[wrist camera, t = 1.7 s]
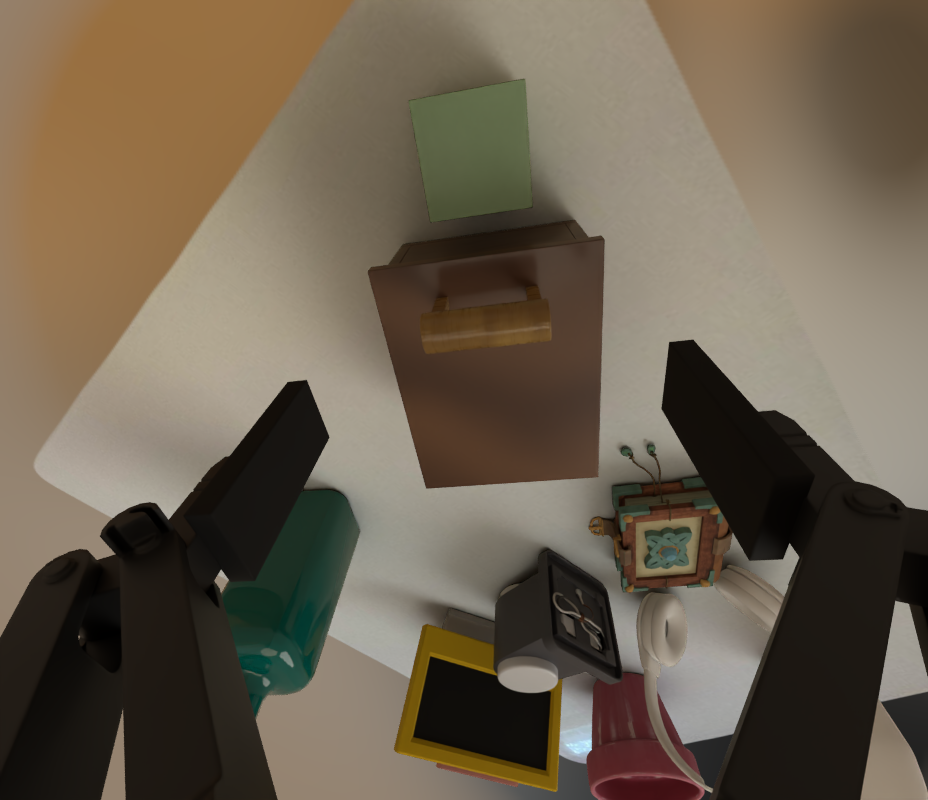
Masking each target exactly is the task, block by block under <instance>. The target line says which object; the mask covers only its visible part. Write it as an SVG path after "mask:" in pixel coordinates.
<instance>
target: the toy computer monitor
mask: <svg viewBox="0 0 928 800" xmlns="http://www.w3.org/2000/svg"><path fill="white" fill-rule="evenodd" d="M494 631H495V622H492V621H489V620H486V619H483V618H480V617H476V616H473V615H470V614H467V613H464V612H461V611H458V610H455V609H452V608H450V609H449V611H448V614H447V616H446V619H445V622H444V624H443V627H442V628H439V627H436V626H432V625H429V624H426V625H423V627H422V631H421V635H420V640H419V644H418V648H417V653H416V657H415V661H414V665H413V670H412V674H411V678H410V683H409V687H408V692H407V695H406V700H405V704H404V708H403V713H402V717H401V722H400V726H399V730H398V734H397V738H396V743H395V747H394V750H395V752H397V753H399V754H404V755H408V756H412V757H416V758H420V759H424V760H428V761H433V762H437V767H438V768H441V769H445V770H449V771H453V772H457V773H461V774H465V775H470V776H474V777H478V778H482V779H486V780H490V781H494V782H498V783H502V784H506V785H511V786H515V787H518V783H522V784H526V785H530V786H534V787H538V788H542V789H546V790H550V791H554V792H555V791H557V782H558V760H559V739H560V718H561V696H562V679H559V680H558V683H557V685H556V686H555V687H554V688H552V689H550V690H548V691H544V692H539V693H525V692H518V691H514V690H511V689H509V688H507V687H505V686H503V685H502V684H501V683H500V682H499V680H498V675H497V674H496V673H495V671H494V668H493V659H494Z"/></svg>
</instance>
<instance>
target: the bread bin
mask: <svg viewBox="0 0 928 800" xmlns="http://www.w3.org/2000/svg"><path fill="white" fill-rule="evenodd" d="M580 238H588V236H587V235H586V233H585V232H584V231H583V229H582V228H581V227H580V225H579V224H578V223H577V222H576V221H575V220H570V221H563V222H556V223H549V224H542V225H535V226H528V227H521V228H514V229H507V230H500V231H493V232H486V233H479V234H472V235H465V236H458V237H451V238H444V239H437V240H430V241H423V242H416V243H409V244H403V245H402V246H401V248H400V249H399V250H398V252H397V253H396V255H395V256H394V257H393V259H392V260H391V262H390V263H389V264H388V265H391V264H398V263H405V262H413V261H420V260H427V259H435V258H442V257H449V256H456V255H464V254H471V253H478V252H486V251H493V250H500V249H507V248H515V247H522V246H529V245H537V244H544V243H551V242H558V241H566V240H573V239H580Z"/></svg>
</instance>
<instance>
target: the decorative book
mask: <svg viewBox="0 0 928 800" xmlns="http://www.w3.org/2000/svg"><path fill="white" fill-rule="evenodd" d="M647 449H648V453H649V455H651V456H652V457H654V458H655V460H656V462H657V465H658V468H659V484H656V485H655V480H654V478H653V476H652V474H651V473H650V472H648V471H647V470H646V469H645V468H643V467H642V466H640V465H638V464H637V463H636V462H635V461H634V457H633V453H632V451H631V450H630V449H629V448H623V449H622V450H621V454H622V455H623V456H627V457H628V456H630V458H629V459H632V461H633V463H635V464H636V465H637V466H639V467H640V468H642V469H644V470H645V471H646V472H647V473H649V474H650V476H651V477H652V479H653V485H647V486H640V484H634V485H625V486H616V487H612V496H613V506H614V510H615V515H616V518H615V519H614V520H613V521H614V524H613V523H612V521H610V520H606V519H602V518H600V517H596V518H594V519H592V521H591V522H590V526H589V530H591V532H592V533H593V534H594V535H598V536H599V535H602V536H604V535H609V536H611V537H612V539H613V542H614V553H615V563H616V568H617V571H621V586H622V590H623V592H629V593H631V592H636V591H648V588H659V587H666V588H667V587H673V586H687V588H692V587H708V586H713V583H715V582H716V581H717V580H718V579H720V573H721V567H722V560H723V554H724V553H726V552H727V551H728V550H729V549H730V545H731V539H732V533H733V532H732V530H731V528H730V527H729V525H728V523H727V521H726V520H725V518H724V516H723V514H722V513H721V511H720V509H719V507H718V506H717V504H716V502H715V501H714V499H713V497H712V495H711V494H710V492H709V490H708V488H707V487H706V485H705V483H704V482H703V480H702V478H701V477H698V478H689V479H682V482H675V483H666V484H660V476H661V470H660V466H659V462H658V460H657V458H656V456H657V455H656V454H653V453H654V452H655V446H654V445H648V447H647ZM631 454H632V455H631ZM595 520H598V521H599V526H596V527H593V522H594V521H595ZM593 530H599V533H595V532H594V531H593Z"/></svg>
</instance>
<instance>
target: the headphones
mask: <svg viewBox="0 0 928 800" xmlns="http://www.w3.org/2000/svg"><path fill="white" fill-rule="evenodd" d="M714 585H715V587H716V589H717V590H718V591H719V592H720V593H721V594H722V595H723V596H724V597H725V598H726V599H727V600H728V601H729V602H730V603H731V604H732V605H733V606H735V607H736V608H737V609H738V610H739V611H741V612H742V613H743V614H744V615H746V616H747V617H748V618H749V619H751V620H752V621H754V622H755V623H756V624H758V625H759V626H761V627H762V628H764V629H765V630H767V631H769V632H772V629H773V627H774V624H775V621H776V619H777V616H778V613H779V610H780V608H781V605H782V602H783V600H784V596H783V595H782V594H781V593H780V592H779V591H777V590H776V589H775V588H774V587H773V586H771V585H770V584H769V583H767V582H766V581H764V580H763V579H762V578H760V577H758V576H757V575H755V574H753V573H752V572H750V571H748V570H745V569H743V568H740V567H736V566H733V565H728V566H727V567H726V569H724V570H723V571H721V573H720V579H718V580H717V581H716V582H715V583H714ZM636 627H637V639H638V647H639V654H640V659H641V664H642V667H643V668H644V688H645V698H646V705H647V710H648V714H649V717H650V721H651V724H652V726H653V729H654V731H655V734H656V736H657V738H658V740H659V742H660V743H661V745H662V747H663V748H664V750H665V751H666V753H667V754H668V756H669V757H670V758H671V760H672V761H673V762H674V763H675V764H676V765H677V766H678V767H679V768H680V770H681V771H683V772H684V773H685V774H686V775H687V776H688V777H689V778H690V779H692V780H693V781H694V782H696V783H697V784H698V785H700V786H701V787H703V788H704V789H706V790H707V791H709V792H711V793H712V791H713V789H712V788H710V787H708V786H706V785H705V784H704V780H703V779H702V777H700V776H699V775H698V774H697V773H696V772H695V771H694V770H693V769H692V768H691V767H689V766H688V764H687V763H686V762H685V761H684V760H683V759H682V758H681V756H680V755H679V754H678V752H677V751H676V749H675V748H674V746H673V744H672V743H671V741H670V739H669V737H668V735H667V732H666V730H665V727H664V724H663V721H662V718H661V715H660V710H659V705H658V698H657V683H656V678H659V675H660V670H661V665H660V663H661V664H663V665H665V666H668V667H672V666H675V665H676V664H677V663H678V662H679V661H680V659H681V657H682V655H683V653H684V650H685V647H686V641H687V619H686V614H685V611H684V608H683V605H682V603H681V602H680V600H679V599H678V598H677V597H676V596H674V595H672V594H662V593H654V592H652V593H649V594H647V595H646V596H645V597H644V599H643V600H642V602H641V604H640V607H639V610H638V615H637V625H636ZM659 662H660V663H659Z"/></svg>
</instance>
